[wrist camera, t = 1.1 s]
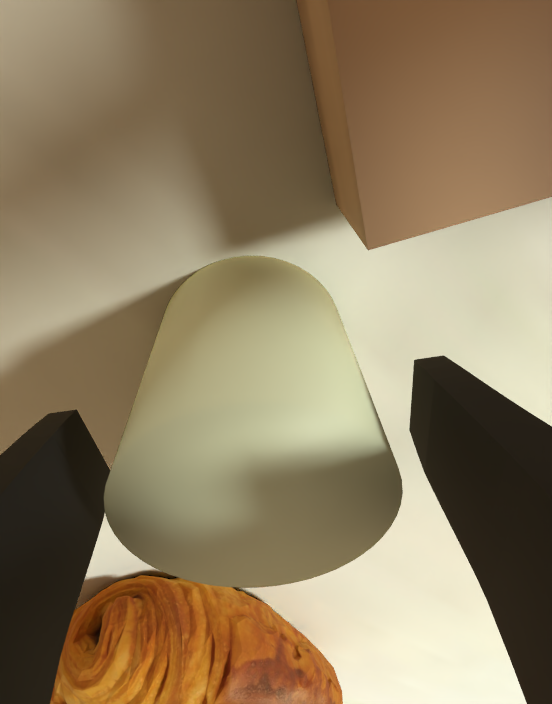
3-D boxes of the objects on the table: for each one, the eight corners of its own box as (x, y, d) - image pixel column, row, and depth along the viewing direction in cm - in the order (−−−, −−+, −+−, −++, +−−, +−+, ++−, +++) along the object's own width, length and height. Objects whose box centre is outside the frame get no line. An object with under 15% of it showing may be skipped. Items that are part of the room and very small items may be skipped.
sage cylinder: (319, 230, 10) (382, 362, 5) (354, 384, 13) (414, 557, 8) (129, 287, 10) (38, 452, 6) (202, 423, 13) (179, 606, 9)
